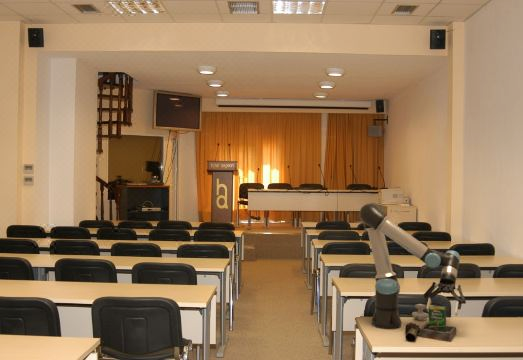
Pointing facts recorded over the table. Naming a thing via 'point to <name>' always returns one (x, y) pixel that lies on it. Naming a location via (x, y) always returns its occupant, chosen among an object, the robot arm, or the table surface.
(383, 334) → the table surface
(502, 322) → the table surface
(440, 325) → the coffee box
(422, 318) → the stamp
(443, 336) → the gray square frame
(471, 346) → the table surface
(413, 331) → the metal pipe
